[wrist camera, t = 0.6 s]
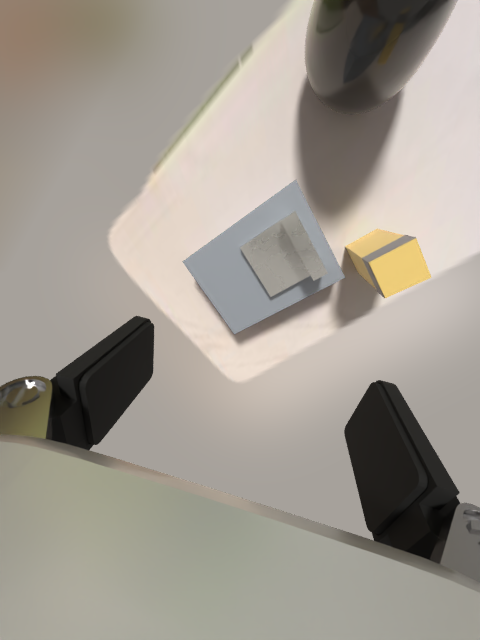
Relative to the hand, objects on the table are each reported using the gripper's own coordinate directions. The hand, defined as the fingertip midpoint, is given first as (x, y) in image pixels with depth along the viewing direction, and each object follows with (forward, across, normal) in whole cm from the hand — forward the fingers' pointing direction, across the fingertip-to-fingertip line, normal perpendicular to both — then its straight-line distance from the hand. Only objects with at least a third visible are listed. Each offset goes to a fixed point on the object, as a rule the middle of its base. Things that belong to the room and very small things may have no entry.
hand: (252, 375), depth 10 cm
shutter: (+21, 0, -1) cm, 21 cm away
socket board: (+26, +2, +1) cm, 26 cm away
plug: (+26, -11, -3) cm, 28 cm away
